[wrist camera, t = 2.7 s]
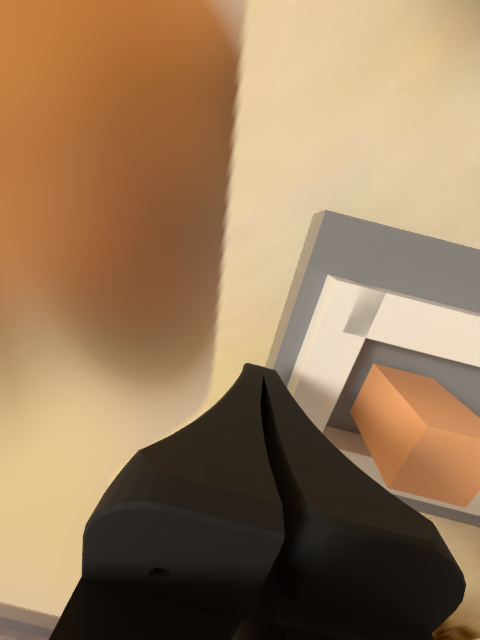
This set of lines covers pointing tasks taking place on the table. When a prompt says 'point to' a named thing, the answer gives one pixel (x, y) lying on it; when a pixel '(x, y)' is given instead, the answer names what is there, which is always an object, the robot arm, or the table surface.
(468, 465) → the breaker lever
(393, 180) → the table surface
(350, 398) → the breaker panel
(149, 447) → the robot arm
